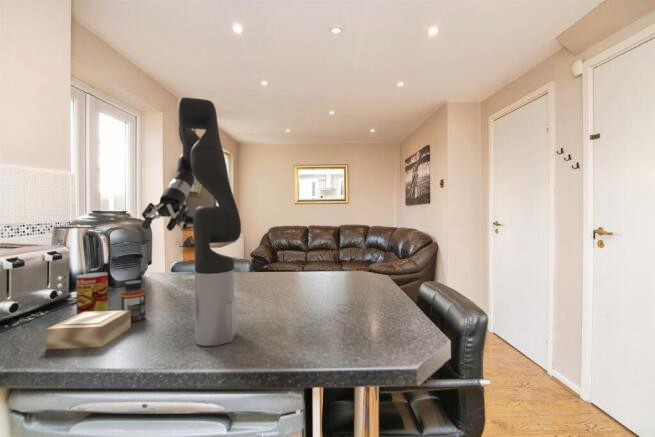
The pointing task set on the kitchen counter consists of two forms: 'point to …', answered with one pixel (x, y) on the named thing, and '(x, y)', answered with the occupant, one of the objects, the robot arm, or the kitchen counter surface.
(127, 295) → the supplement bottle
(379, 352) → the kitchen counter surface
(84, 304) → the canned food
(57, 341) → the oak plinth
